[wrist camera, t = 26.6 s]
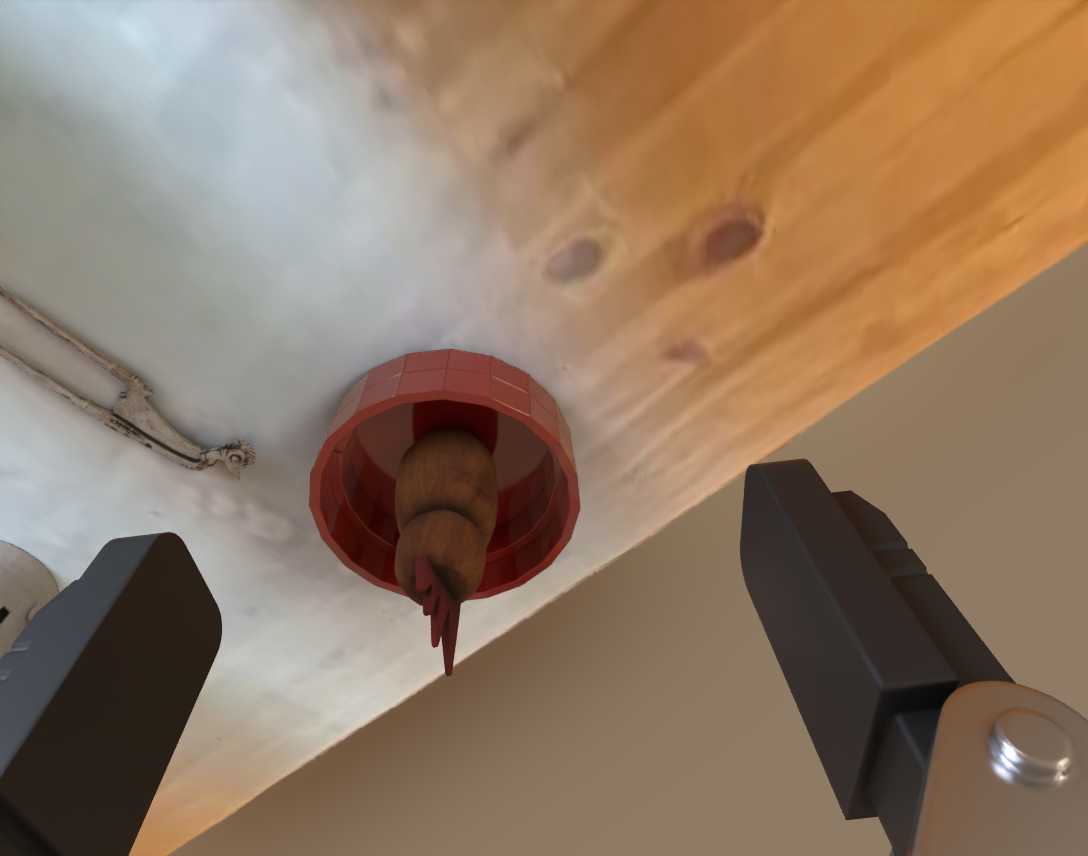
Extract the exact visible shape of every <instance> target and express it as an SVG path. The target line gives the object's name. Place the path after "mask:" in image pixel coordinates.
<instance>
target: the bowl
mask: <svg viewBox="0 0 1088 856" xmlns="http://www.w3.org/2000/svg"><path fill="white" fill-rule="evenodd" d="M451 427H457V428H460V429H463V430H466V431H469V432H471V433H472V434H474V435H475V436H476V437H477V438H479V439H480V440H481V441H482V442H483V443H484V444H485V445H486V447H487V449H488V450H489V453H490V455H491V457H492V460H493V462H494V465H495V470H496V477H497V487H498V505H497V517H496V524H495V528H494V531H493V534H492V536H491V539H490V541H489V544H488V546H487V548H486V563H485V569H484V574H483V577H482V580H481V583H480V585H479V586H478V588H477V589H476V591H475V593H474V594H473V595H472V596H471V597H469V598H468V599H467V600H474V599H483V598H488V597H491V596H494V595H497V594H500V593H502V592H505V591H508V590H511V589H513V588H516V587H519V586H521V585H523V584H525V583H526V582H527V581H529V580H530V579H532V578H533V577H535V576H536V575H538V574H539V573H540V572H542V571H543V570H545V569H546V568H548V567H549V566H550V565H551V564H552V563H553V561H554V560H555V559H556V558H557V556H558V555H559V554H560V552H561V551H562V550H563V549H564V547H565V546H566V545H567V543H568V542H569V541H570V539H571V537H572V534H573V530H574V527H575V524H576V521H577V518H578V514H579V511H580V499H579V488H578V477H577V471H576V464H575V458H574V452H573V446H572V440H571V434H570V429H569V427H568V425H567V423H566V421H565V419H564V417H563V415H562V413H561V411H560V409H559V407H558V405H557V403H556V401H555V400H554V398H553V397H552V396H551V395H550V394H549V393H548V392H546V391H545V390H544V389H543V388H542V387H541V386H540V385H539V384H538V383H537V382H536V381H535V380H534V379H533V378H532V377H531V376H530V375H529V374H527V373H526V372H524V371H522V370H520V369H518V368H516V367H513V366H511V365H509V364H507V363H505V362H503V361H501V360H499V359H497V358H495V357H493V356H489V355H484V354H478V353H472V352H466V351H460V350H454V349H450V350H449V349H444V350H435V351H427V352H418V353H410V354H406V355H403V356H401V357H399V358H397V359H394V360H392V361H390V362H387V363H385V364H383V365H381V366H378V367H376V368H374V369H372V370H370V371H369V372H368V373H367V374H366V375H365V376H364V377H363V378H362V379H361V380H360V381H359V382H358V383H356V384H355V385H354V386H353V387H352V388H351V389H350V390H349V391H348V392H347V393H346V394H345V395H344V396H343V399H342V401H341V403H340V405H339V407H338V409H337V411H336V413H335V415H334V417H333V419H332V421H331V424H330V426H329V428H328V431H327V433H326V435H325V438H324V440H323V443H322V445H321V448H320V450H319V452H318V455H317V457H316V460H315V462H314V464H313V467H312V469H311V472H310V496H309V506H310V509H311V512H312V515H313V517H314V520H315V523H316V525H317V528H318V530H319V533H320V536H321V538H322V540H323V541H324V542H325V543H326V544H327V545H328V547H329V548H330V549H331V550H332V551H333V552H334V554H335V555H336V556H337V557H338V558H339V560H340V561H341V562H342V563H343V564H344V565H345V566H346V567H348V568H349V569H351V570H352V571H354V572H355V573H357V574H358V575H360V576H361V577H363V578H364V579H366V580H367V581H369V582H370V583H372V584H374V585H376V586H378V587H381V588H383V589H386V590H389V591H392V592H395V593H398V594H401V595H404V596H407V595H406V593H405V592H404V591H403V590H402V588H401V587H400V585H399V583H398V581H397V578H396V574H395V556H396V548H397V544H398V540H399V538H400V533H399V529H398V526H397V521H396V515H395V490H396V482H397V476H398V470H399V466H400V461H401V458H402V457H403V455H404V454H405V452H406V451H407V449H408V448H409V447H411V446H412V445H413V444H414V443H415V442H416V441H417V440H418V439H420V438H421V437H422V436H423V435H424V434H426V433H428V432H429V431H433V430H436V429H440V428H451ZM407 597H408V596H407Z"/></svg>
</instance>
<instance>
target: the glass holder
mask: <svg viewBox="0 0 1088 856" xmlns="http://www.w3.org/2000/svg"><path fill="white" fill-rule="evenodd" d="M58 594H59V591H58V586H57V584H56V581H55V579H54V578H53V576H52V575H51V573H50V572H49V571H48V570H47V569H46V567H45V566H44V565H43V564H42V563H40V562H39V561H38V560H37V559H35V558H34V557H33V556H31V555H30V554H28V553H27V552H25V551H23V550H21V549H19V548H17V547H15V546H13V545H11V544H9V543H6V542H3V541H0V659H1V658H2V657H3V656H4V654H5V653H9V652H11V650H12V647H11V645H12V644H13V643H14V641H15V640H16V639H17V637H18V636H19V635H20V633H21V632H22V631H23V630H24V628H25V627H26V626H27V624H28V623H29V622H30V620H31V619H32V618H33V617H34V615H35V614H36V613H37V611H39V610H40V609H41V608H42V607H43V606H45V605H46V604H47V603H48V602H49V601H51V600H52V599H53V598H54V597H55V596H57V595H58Z"/></svg>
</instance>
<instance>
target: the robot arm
mask: <svg viewBox="0 0 1088 856" xmlns="http://www.w3.org/2000/svg"><path fill="white" fill-rule="evenodd" d="M740 557H741V565H742V571H743V576H744V580H745V583H746V586H747V589H748V592H749V594H750V597H751V599H752V601H753V604H754V606H755V608H756V611H757V613H758V615H759V617H760V620H761V622H762V625H763V627H764V629H765V632H766V634H767V636H768V639H769V641H770V643H771V646H772V648H773V650H774V653H775V655H776V658H777V660H778V662H779V665H780V667H781V669H782V671H783V674H784V676H785V679H786V681H787V683H788V686H789V688H790V690H791V693H792V695H793V697H794V700H795V702H796V704H797V707H798V709H799V711H800V714H801V716H802V718H803V721H804V723H805V725H806V727H807V730H808V732H809V735H810V737H811V739H812V742H813V744H814V746H815V749H816V751H817V753H818V756H819V758H820V760H821V763H822V765H823V767H824V769H825V772H826V774H827V777H828V779H829V781H830V784H831V786H832V788H833V791H834V793H835V795H836V798H837V800H838V802H839V805H840V807H841V809H842V812H843V814H844V816H845V819H846V820H852V819H860V818H870V817H879V819H880V822H881V824H882V826H883V828H884V830H885V832H886V834H887V836H888V839H889V841H890V843H891V845H892V850H891V853H890V856H1088V720H1087V719H1086V718H1084V717H1083V716H1082V715H1081V714H1080V713H1078V712H1077V711H1075V710H1074V709H1072V708H1071V707H1069V706H1068V705H1066V704H1065V703H1063V702H1061V701H1059V700H1057V699H1055V698H1054V697H1052V696H1050V695H1048V694H1045V693H1043V692H1040V691H1038V690H1036V689H1033V688H1029V687H1026V686H1023V685H1020V684H1016V683H1015V682H1014V680H1013V679H1012V678H1011V677H1010V676H1009V675H1008V673H1007V672H1006V671H1005V670H1004V668H1003V667H1002V666H1001V664H1000V663H999V662H998V661H997V659H996V658H995V657H994V655H993V654H992V653H991V651H990V650H989V649H988V647H987V646H986V645H985V644H984V642H983V641H982V640H981V638H980V637H979V636H978V634H977V633H976V632H975V630H974V629H973V628H972V627H971V625H970V624H969V623H968V621H967V620H966V619H965V618H964V616H963V615H962V614H961V612H960V611H959V610H958V608H957V607H956V606H955V604H954V603H953V602H952V600H951V599H950V598H949V597H948V596H947V594H946V593H945V591H944V590H943V589H942V587H941V586H940V585H939V583H938V582H937V581H936V580H935V578H934V577H933V576H932V575H931V574H929V575H928V573H927V571H926V566H925V565H924V564H923V563H922V561H921V560H920V559H919V557H918V556H917V555H916V553H915V552H914V551H913V550H912V549H909V548H908V546H907V542H906V540H905V539H904V538H903V537H902V535H901V534H900V533H899V532H898V530H897V529H896V527H895V526H894V525H893V524H892V522H891V521H890V519H889V518H888V517H887V516H886V514H885V513H883V512H882V511H880V510H879V509H877V508H876V507H874V506H873V505H871V504H870V503H868V502H867V501H865V500H864V499H863V498H861V497H860V496H858V495H856V494H855V493H854V492H852V491H842V492H835V493H831V492H830V490H829V489H828V487H827V486H826V485H825V483H824V482H823V480H822V479H821V477H820V476H819V474H818V473H817V471H816V470H815V469H814V467H813V466H812V464H811V463H810V462H809V461H808V460H806V459H795V460H788V461H779V462H770V463H762V464H753V465H750V466H749V467H748V468H747V471H746V475H745V487H744V500H743V514H742V527H741V541H740ZM221 637H222V620H221V614H220V611H219V608H218V605H217V603H216V601H215V600H214V598H213V596H212V594H211V592H210V590H209V588H208V586H207V585H206V583H205V581H204V579H203V577H202V575H201V573H200V571H199V570H198V568H197V566H196V564H195V562H194V560H193V558H192V556H191V555H190V553H189V551H188V549H187V547H186V545H185V543H184V542H183V540H182V539H181V538H180V537H179V536H178V535H176V534H174V533H171V532H166V533H158V534H149V535H141V536H133V537H124V538H117V539H113V540H111V541H109V542H108V543H107V544H106V545H105V546H104V547H103V548H102V549H101V551H100V552H99V553H98V555H97V556H96V557H95V559H94V560H93V561H92V563H91V564H90V565H89V567H88V568H87V570H86V571H85V572H84V574H83V575H82V576H81V578H80V579H79V580H75V581H74V582H72V583H71V584H70V585H69V586H68V587H66V588H65V589H64V590H63V591H62V592H60V593H59V594H58V595H57V596H55V597H54V598H53V599H52V600H51V601H49V602H48V603H47V604H46V605H45V606H43V607H42V608H41V609H40V610H39V611H37V613H36V614H35V615H34V617H33V618H32V619H31V620H30V622H29V623H28V624H27V626H26V627H25V628H24V630H23V631H22V632H21V633H20V635H19V636H18V637H17V639H16V640H15V641H14V643H13V644H12V645H11V647H12V650H11V652H9V653H5V654H4V656H3V657H2V658H1V659H0V856H128V855H129V853H130V851H131V848H132V846H133V844H134V842H135V839H136V837H137V835H138V832H139V830H140V828H141V826H142V823H143V821H144V819H145V817H146V814H147V812H148V810H149V807H150V805H151V803H152V801H153V798H154V796H155V794H156V791H157V789H158V787H159V785H160V782H161V780H162V778H163V776H164V773H165V771H166V769H167V766H168V764H169V762H170V760H171V757H172V755H173V753H174V751H175V748H176V746H177V744H178V741H179V739H180V737H181V735H182V732H183V730H184V728H185V725H186V723H187V721H188V719H189V716H190V714H191V712H192V710H193V707H194V705H195V703H196V700H197V698H198V696H199V694H200V691H201V689H202V687H203V684H204V682H205V680H206V678H207V675H208V673H209V671H210V669H211V666H212V664H213V662H214V659H215V657H216V655H217V652H218V650H219V647H220V643H221Z"/></svg>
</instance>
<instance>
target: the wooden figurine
mask: <svg viewBox="0 0 1088 856" xmlns="http://www.w3.org/2000/svg"><path fill="white" fill-rule="evenodd" d="M497 505H498V487H497V477H496V470H495V465H494V462H493V460H492V457H491V455H490V453H489V450H488V449H487V447H486V445H485V444H484V443H483V442H482V441H481V440H480V439H479V438H477V437H476V436H475V435H474V434H472V433H471V432H469V431H466V430H463V429H460V428H457V427H451V428H440V429H436V430H433V431H429V432H428V433H426V434H424V435H423V436H422V437H421V438H420V439H418V440H417V441H416V442H415V443H414V444H413V445H412V446H411V447H409V448H408V449H407V451H406V452H405V454H404V455H403V457H402V458H401V461H400V466H399V470H398V476H397V482H396V490H395V515H396V521H397V526H398V529H399V533H400V538H399V540H398V544H397V548H396V556H395V574H396V578H397V581H398V583H399V585H400V587H401V588H402V590H403V591H404V592H405V593H406V595H407V596H408V597H409V598H410V599H412V600H413V601H415V602H416V603H418V604H419V605H422V606H423V613H424V615H425V616H428V615H431V643H432V646H433V648H435V647H438V645H439V641H440V638H441V637H442V646H443V656H444V665H445V673H446V675H447V676H450V675H452V669H453V661H454V654H455V646H456V639H457V631H458V624H459V614H460V605H461V603H463V602H464V601H466V600H467V599H468V598H469V597H471V596H472V595H473V594H474V593H475V591H476V589H477V588H478V586H479V585H480V583H481V580H482V577H483V574H484V569H485V563H486V548H487V546H488V544H489V541H490V539H491V536H492V534H493V531H494V528H495V524H496V517H497Z"/></svg>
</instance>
